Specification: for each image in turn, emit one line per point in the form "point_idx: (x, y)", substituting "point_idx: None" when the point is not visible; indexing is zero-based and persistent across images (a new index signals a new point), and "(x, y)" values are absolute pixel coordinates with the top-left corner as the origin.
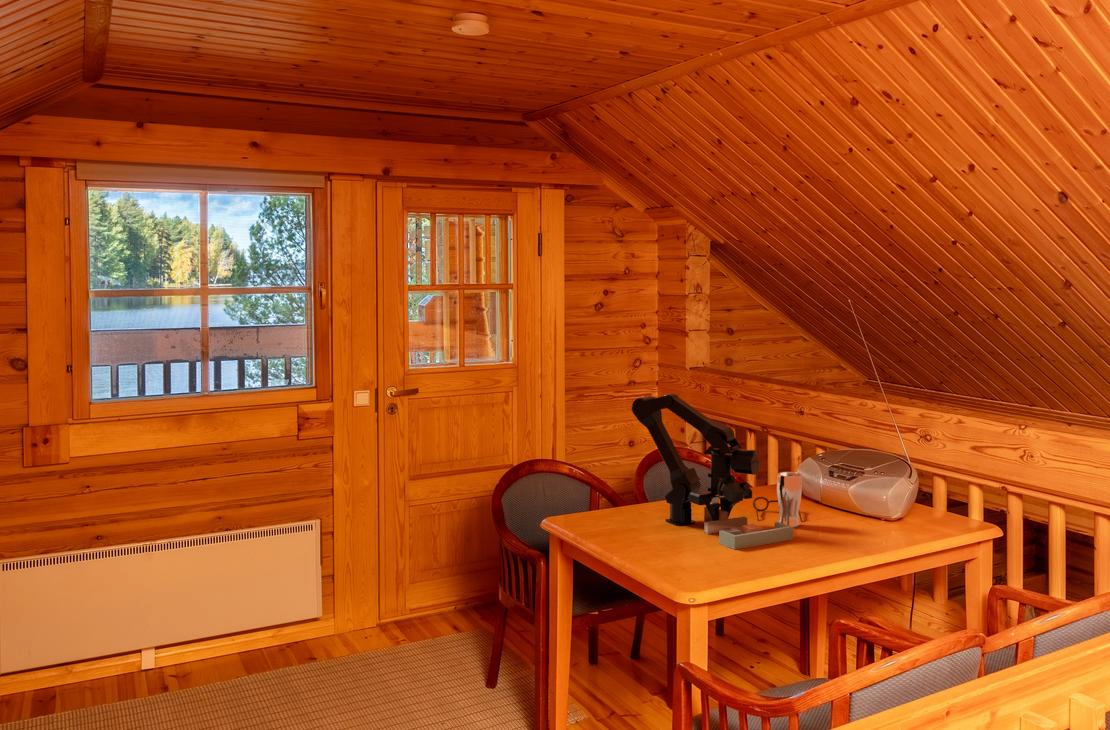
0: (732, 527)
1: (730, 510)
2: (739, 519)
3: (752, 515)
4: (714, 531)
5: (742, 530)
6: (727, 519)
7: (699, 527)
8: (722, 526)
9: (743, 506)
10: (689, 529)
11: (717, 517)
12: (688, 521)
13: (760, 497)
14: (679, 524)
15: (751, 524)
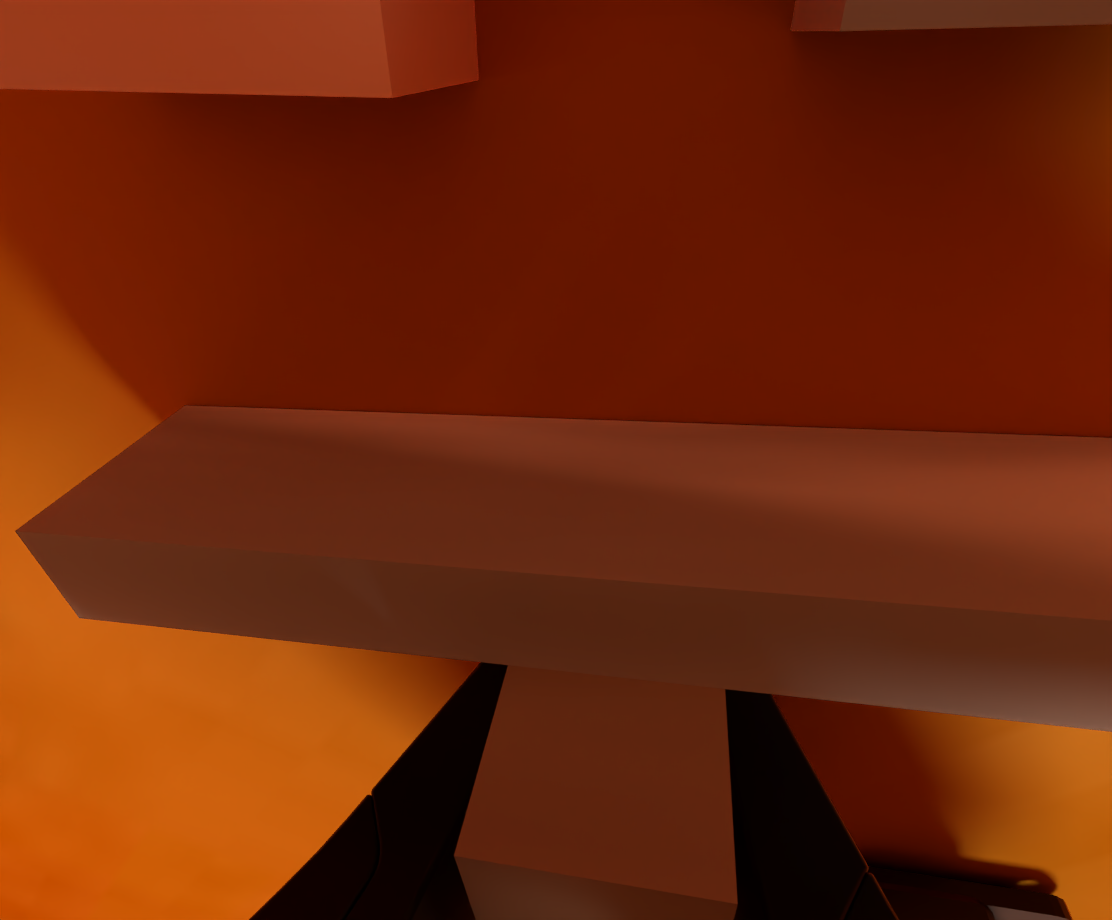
0: (886, 22)
1: (324, 876)
2: (240, 537)
3: (13, 716)
4: (1023, 456)
5: (442, 14)
6: (547, 641)
7: (869, 750)
8: (786, 499)
9: (58, 853)
10: (1106, 766)
11: (781, 793)
12: (915, 907)
13: None
14: (1045, 905)
15: (5, 74)
